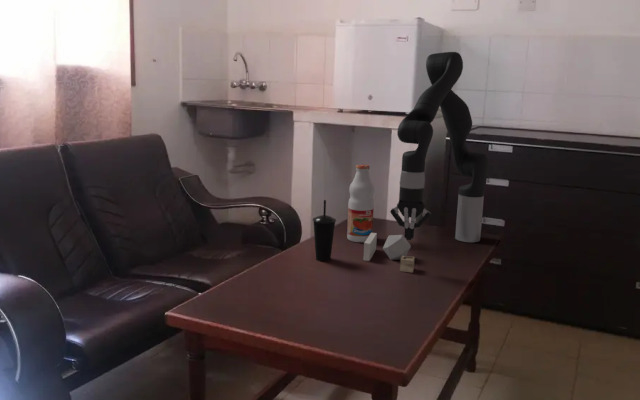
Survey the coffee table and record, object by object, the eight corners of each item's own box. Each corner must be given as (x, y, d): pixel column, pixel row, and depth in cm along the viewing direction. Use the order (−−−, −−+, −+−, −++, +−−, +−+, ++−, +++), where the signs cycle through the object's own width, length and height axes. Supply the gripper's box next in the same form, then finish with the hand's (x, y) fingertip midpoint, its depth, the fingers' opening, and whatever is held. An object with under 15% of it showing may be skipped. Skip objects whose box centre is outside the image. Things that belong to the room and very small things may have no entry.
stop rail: (370, 249, 216) (371, 232, 215) (376, 249, 216) (376, 233, 215) (363, 260, 203) (364, 243, 202) (369, 261, 203) (370, 243, 201)
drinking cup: (307, 260, 202) (308, 200, 198) (318, 254, 208) (320, 196, 204) (328, 264, 198) (330, 203, 194) (338, 258, 205) (340, 199, 201)
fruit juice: (363, 235, 235) (366, 162, 229) (377, 241, 226) (380, 166, 221) (342, 237, 230) (344, 163, 224) (355, 244, 222) (358, 167, 216)
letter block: (401, 267, 197) (402, 255, 197) (413, 268, 196) (414, 256, 196) (399, 271, 193) (400, 259, 193) (412, 272, 193) (413, 260, 192)
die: (406, 265, 201) (418, 239, 204) (383, 252, 200) (396, 227, 203) (397, 266, 209) (408, 242, 212) (375, 254, 208) (387, 229, 211)
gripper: (434, 184, 191) (431, 238, 195) (392, 181, 194) (389, 234, 198) (432, 189, 184) (429, 244, 188) (389, 186, 187) (386, 240, 191)
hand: (408, 239), depth 193 cm, fingers closed
